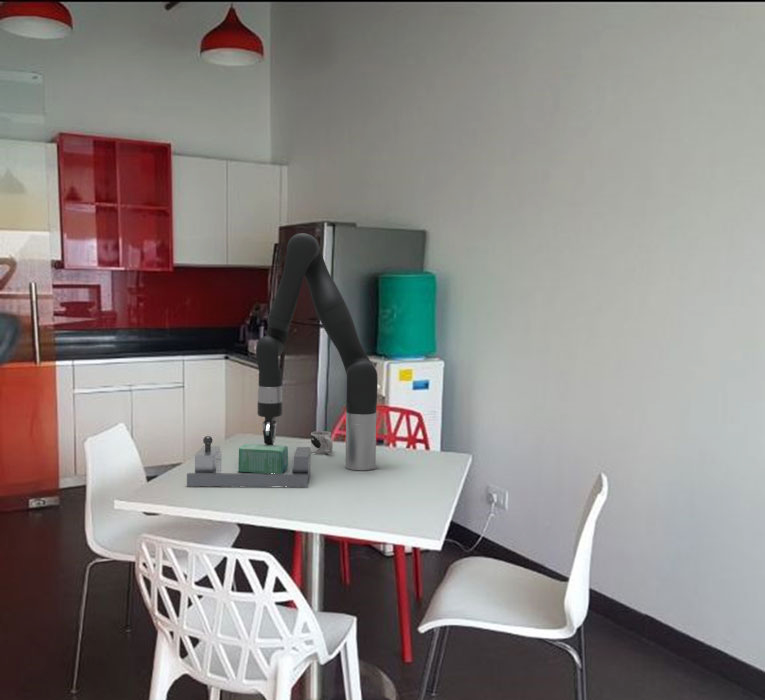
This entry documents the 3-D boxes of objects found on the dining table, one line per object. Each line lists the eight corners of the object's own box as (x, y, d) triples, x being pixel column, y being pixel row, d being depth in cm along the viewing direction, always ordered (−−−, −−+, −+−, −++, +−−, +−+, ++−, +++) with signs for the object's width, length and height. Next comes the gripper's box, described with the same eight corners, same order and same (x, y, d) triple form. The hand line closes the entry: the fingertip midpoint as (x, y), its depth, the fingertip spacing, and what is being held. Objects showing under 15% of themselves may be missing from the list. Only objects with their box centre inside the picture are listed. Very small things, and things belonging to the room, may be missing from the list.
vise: (310, 473, 217) (310, 447, 216) (307, 487, 202) (307, 459, 201) (198, 472, 215) (198, 446, 214) (186, 486, 200) (186, 458, 199)
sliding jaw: (222, 473, 215) (222, 432, 214) (215, 483, 204) (215, 440, 202) (203, 472, 215) (203, 431, 214) (194, 483, 203) (194, 440, 202)
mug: (307, 451, 245) (307, 432, 244) (323, 449, 248) (324, 430, 248) (322, 457, 237) (323, 437, 236) (340, 455, 240) (340, 435, 240)
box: (282, 474, 214) (282, 449, 214) (237, 472, 216) (237, 448, 215) (288, 468, 222) (288, 444, 221) (245, 466, 223) (245, 442, 222)
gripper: (279, 404, 217) (279, 461, 219) (284, 397, 230) (284, 451, 232) (254, 403, 217) (254, 460, 218) (260, 396, 230) (260, 450, 231)
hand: (269, 455), depth 225 cm, fingers closed
